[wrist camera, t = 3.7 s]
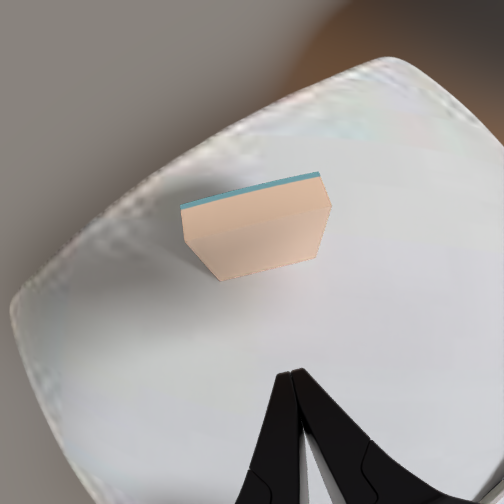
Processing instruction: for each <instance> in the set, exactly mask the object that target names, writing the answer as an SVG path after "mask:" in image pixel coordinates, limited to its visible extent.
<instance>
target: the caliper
mask: <svg viewBox="0 0 504 504" xmlns="http://www.w3.org/2000/svg"><path fill="white" fill-rule="evenodd" d="M503 496H504V479H503V480H502V481H501V482H500V483H499V484H498V485H497V486H496V487H494V488H493V489H492V490H491V491H490V492H489V493H488V494H487V495H486V496H484V497H483V499H482V500H481V501H480V502H479V503H483V504H496V503H497V502H498V501H499V500H500V499H501V498H502V497H503Z"/></svg>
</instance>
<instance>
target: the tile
mask: <svg viewBox="0 0 504 504" xmlns="http://www.w3.org/2000/svg"><path fill="white" fill-rule="evenodd" d="M331 207H332V205H331V202H330V200H329V197H328V194H327V192H326V189H325V187H324V184H323V182H322V179H321V177H320V174H319V172H313V173H309V174H304V175H299V176H294V177H290V178H285V179H281V180H276V181H272V182H267V183H263V184H259V185H254V186H250V187H246V188H242V189H238V190H234V191H230V192H226V193H222V194H218V195H214V196H211V197H207V198H203V199H199V200H196V201H192V202H189V203H185V204H181V205H180V208H181V217H182V225H183V232H184V240H185V242H186V244H187V245H188V246H189V247H190V248H191V249H192V250H193V252H194V253H195V254H196V255H197V256H198V257H199V258H200V260H201V261H202V262H203V263H204V264H205V265H206V266H207V267H208V269H209V270H210V271H211V272H212V273H213V274H214V275H215V276H216V277H217V279H218V280H219V281H224V280H228V279H232V278H236V277H241V276H245V275H249V274H253V273H257V272H262V271H266V270H270V269H274V268H278V267H282V266H286V265H290V264H294V263H298V262H302V261H306V260H310V259H314V258H316V255H317V252H318V249H319V246H320V243H321V239H322V236H323V233H324V230H325V227H326V224H327V220H328V217H329V214H330V211H331Z"/></svg>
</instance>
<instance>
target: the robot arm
mask: <svg viewBox="0 0 504 504" xmlns="http://www.w3.org/2000/svg"><path fill="white" fill-rule="evenodd" d="M302 424H303V425H302ZM303 428H304V430H303ZM304 432H305V435H306V438H307V440H308V443H309V445H310V448H311V450H312V453H313V456H314V458H315V461H316V463H317V466H318V468H319V471H320V473H321V476H322V478H323V481H324V483H325V486H326V488H327V491H328V493H329V496H330V498H331V501H332V503H333V504H483V503H478V502H473V501H469V500H464V499H460V498H456V497H452V496H449V495H447V494H444V493H442V492H440V491H438V490H436V489H435V488H433V487H431V486H430V485H428V484H427V483H425V482H424V481H422V480H421V479H419V478H418V477H417V476H415V475H414V474H412V473H411V472H409V471H408V470H406V469H405V468H404V467H402V466H401V465H400V464H398V463H397V462H396V461H395V460H393V459H392V458H391V457H390V456H389V455H388V454H386V453H385V452H384V451H383V450H382V449H381V448H380V447H379V446H378V445H377V444H376V443H375V442H374V441H373V440H370V437H369V436H368V435H367V434H366V433H365V432H364V431H363V430H362V429H361V428H360V427H359V426H358V425H357V424H356V423H355V422H354V421H353V420H352V419H351V418H350V417H349V416H348V415H347V413H346V412H345V411H344V410H343V409H342V408H341V407H340V406H339V405H338V404H337V403H336V402H335V401H334V400H333V399H332V398H331V397H330V396H329V395H328V393H327V392H326V391H325V390H324V389H323V388H322V387H321V386H320V385H319V384H318V383H317V382H316V381H315V379H314V378H313V377H312V376H311V375H310V374H309V373H308V372H307V371H306V370H305V369H304V368H299V369H295V370H292V371H291V373H290V372H289V371H287V372H283V373H279V374H277V375H276V378H275V382H274V386H273V389H272V393H271V396H270V400H269V403H268V407H267V410H266V414H265V417H264V421H263V424H262V427H261V431H260V434H259V437H258V441H257V444H256V447H255V450H254V453H253V457H252V460H251V463H250V466H249V470H248V472H247V475H246V478H245V481H244V483H243V486H242V488H241V491H240V493H239V496H238V498H237V500H236V502H235V504H309V490H308V475H307V461H306V448H305V436H304Z"/></svg>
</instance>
